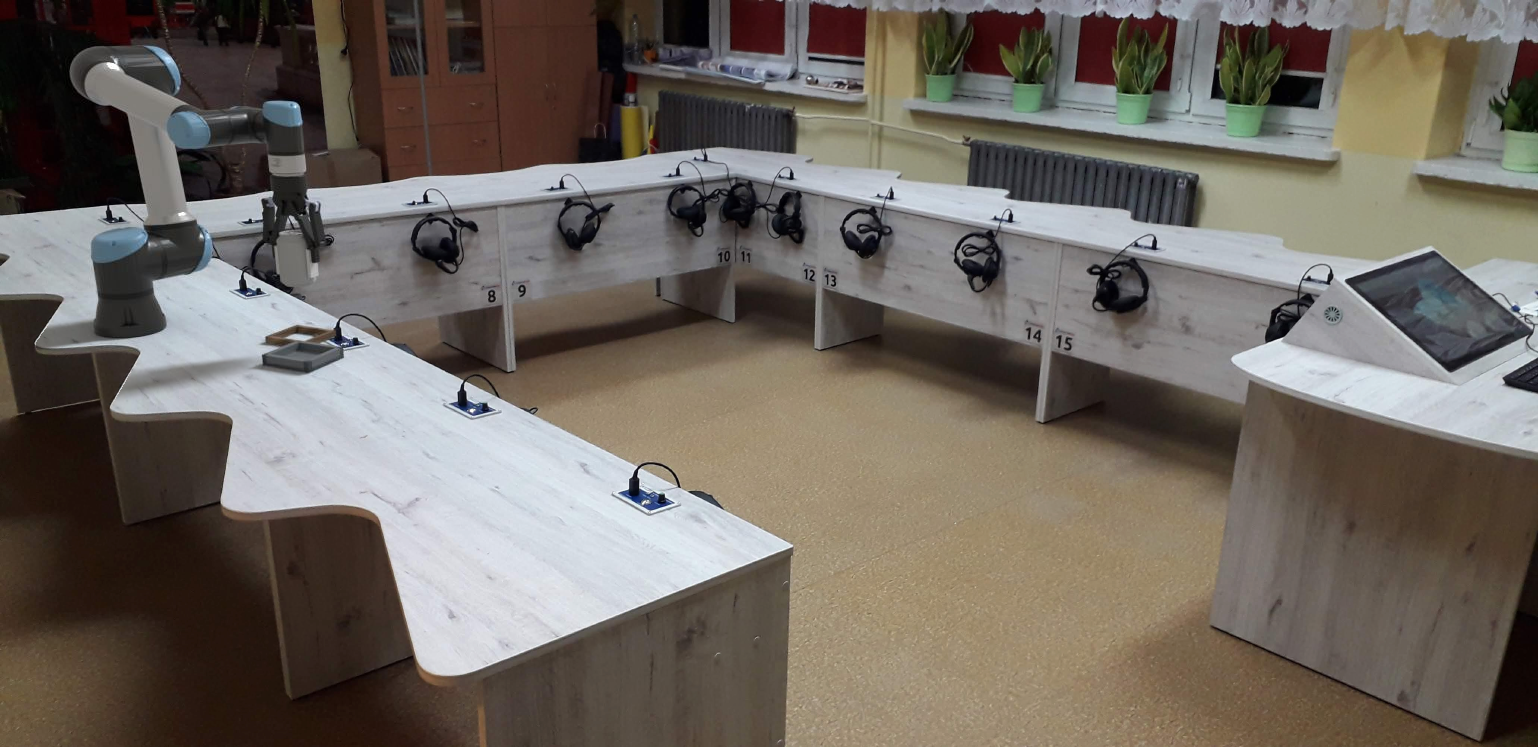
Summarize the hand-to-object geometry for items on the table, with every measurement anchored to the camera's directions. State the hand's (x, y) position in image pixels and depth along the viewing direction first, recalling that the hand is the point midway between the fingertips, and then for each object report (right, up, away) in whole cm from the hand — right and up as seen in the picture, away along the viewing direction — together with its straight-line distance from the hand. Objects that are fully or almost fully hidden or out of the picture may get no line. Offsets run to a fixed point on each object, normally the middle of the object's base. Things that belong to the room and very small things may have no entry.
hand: (297, 274), depth 252 cm
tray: (+2, -20, -3) cm, 20 cm away
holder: (-4, -14, +12) cm, 19 cm away
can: (0, -2, +1) cm, 2 cm away
